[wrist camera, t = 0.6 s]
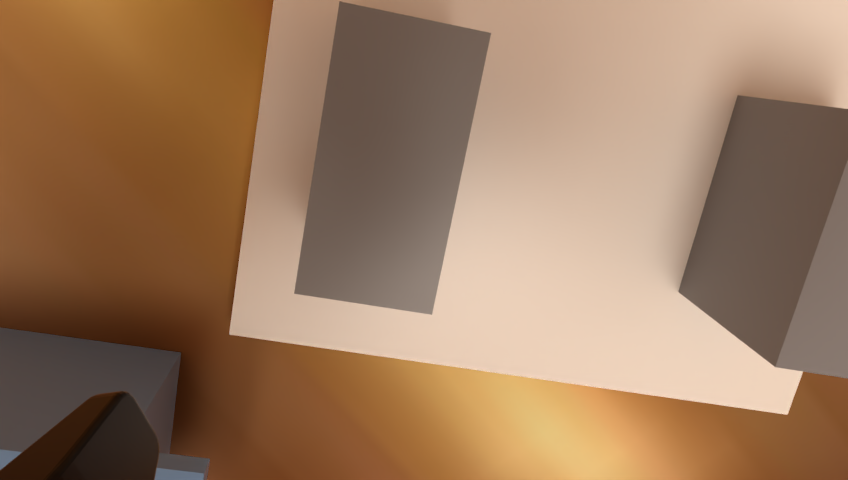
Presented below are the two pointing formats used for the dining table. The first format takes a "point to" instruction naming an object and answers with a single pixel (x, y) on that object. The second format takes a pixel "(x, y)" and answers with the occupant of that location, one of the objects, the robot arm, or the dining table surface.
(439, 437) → the dining table surface
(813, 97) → the plate
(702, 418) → the dining table surface
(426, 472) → the dining table surface
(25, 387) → the block
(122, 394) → the robot arm
